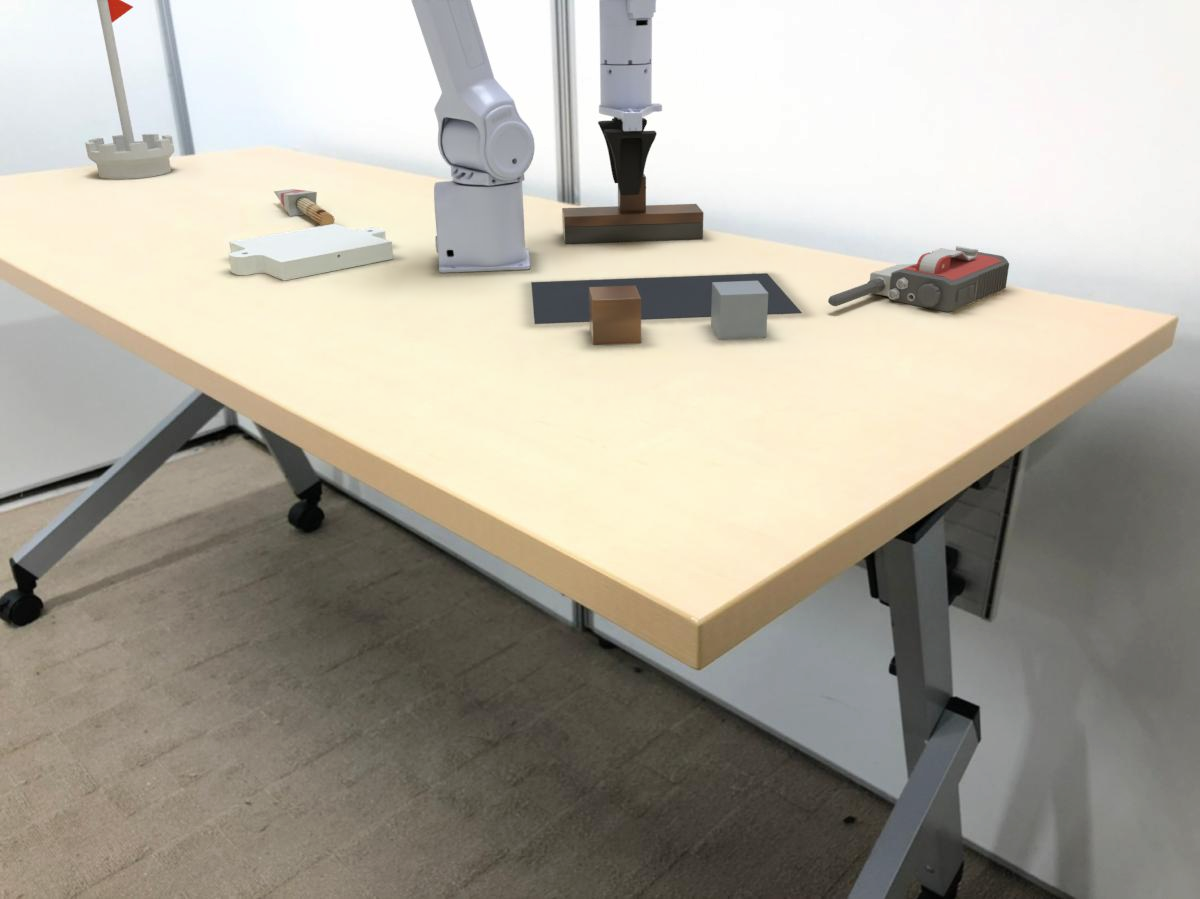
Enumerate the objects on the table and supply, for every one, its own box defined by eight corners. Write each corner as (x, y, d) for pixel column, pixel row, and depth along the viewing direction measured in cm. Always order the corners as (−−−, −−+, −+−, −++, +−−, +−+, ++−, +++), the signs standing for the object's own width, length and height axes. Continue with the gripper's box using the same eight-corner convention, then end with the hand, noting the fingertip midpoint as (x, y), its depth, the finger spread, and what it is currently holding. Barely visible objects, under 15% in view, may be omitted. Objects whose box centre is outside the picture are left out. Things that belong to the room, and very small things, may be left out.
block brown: (593, 346, 88) (592, 300, 87) (589, 332, 92) (588, 287, 90) (641, 344, 88) (641, 298, 87) (635, 330, 92) (635, 285, 90)
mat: (534, 325, 94) (534, 323, 94) (531, 284, 106) (531, 282, 106) (802, 314, 95) (802, 312, 95) (767, 275, 108) (767, 273, 108)
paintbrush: (296, 178, 148) (340, 208, 132) (298, 197, 149) (343, 230, 133) (268, 180, 146) (310, 211, 130) (270, 200, 147) (312, 233, 132)
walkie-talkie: (933, 271, 108) (819, 314, 95) (938, 228, 106) (822, 266, 93) (1016, 287, 102) (906, 334, 90) (1022, 241, 100) (912, 283, 88)
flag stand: (124, 182, 165) (82, -29, 153) (75, 176, 172) (31, -28, 159) (194, 170, 175) (160, -30, 163) (145, 164, 182) (109, -28, 169)
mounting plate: (260, 285, 108) (257, 266, 107) (209, 262, 117) (206, 245, 116) (413, 254, 118) (411, 237, 118) (355, 236, 127) (353, 220, 127)
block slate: (719, 341, 89) (720, 294, 87) (710, 326, 92) (712, 282, 91) (766, 339, 89) (768, 293, 88) (756, 325, 93) (758, 280, 91)
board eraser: (565, 244, 122) (563, 180, 119) (562, 235, 126) (560, 173, 123) (702, 239, 123) (704, 176, 120) (695, 230, 127) (697, 169, 124)
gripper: (670, 67, 111) (669, 199, 116) (653, 58, 124) (653, 176, 129) (603, 69, 110) (605, 200, 116) (593, 59, 123) (595, 178, 129)
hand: (626, 188), depth 123 cm, fingers open, 7 cm apart
